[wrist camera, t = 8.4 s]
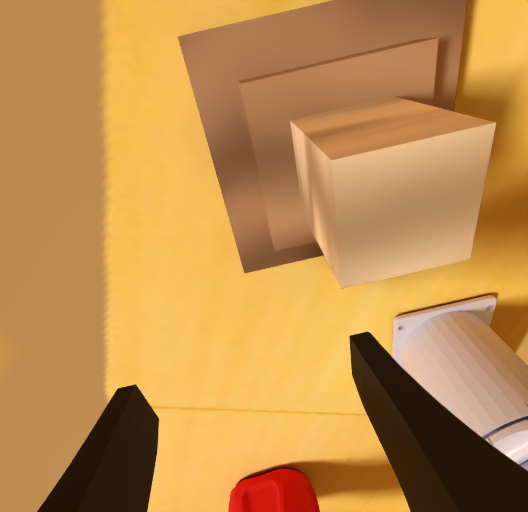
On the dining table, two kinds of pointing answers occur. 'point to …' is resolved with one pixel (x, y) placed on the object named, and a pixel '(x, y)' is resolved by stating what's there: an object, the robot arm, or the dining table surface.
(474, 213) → the oak block
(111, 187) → the dining table surface
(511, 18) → the dining table surface
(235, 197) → the walnut pedestal
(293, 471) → the water bottle
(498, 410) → the robot arm
